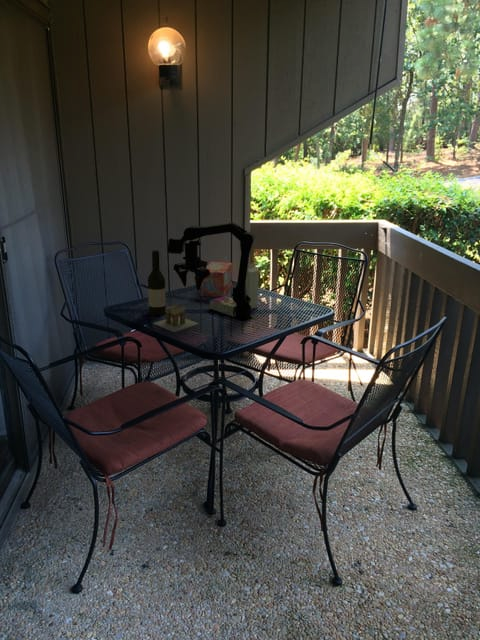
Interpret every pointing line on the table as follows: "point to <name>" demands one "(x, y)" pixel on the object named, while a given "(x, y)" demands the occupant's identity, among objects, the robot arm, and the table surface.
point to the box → (217, 280)
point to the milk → (252, 284)
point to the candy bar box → (224, 305)
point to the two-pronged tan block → (175, 315)
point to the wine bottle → (156, 288)
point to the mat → (175, 328)
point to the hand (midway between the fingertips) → (191, 288)
